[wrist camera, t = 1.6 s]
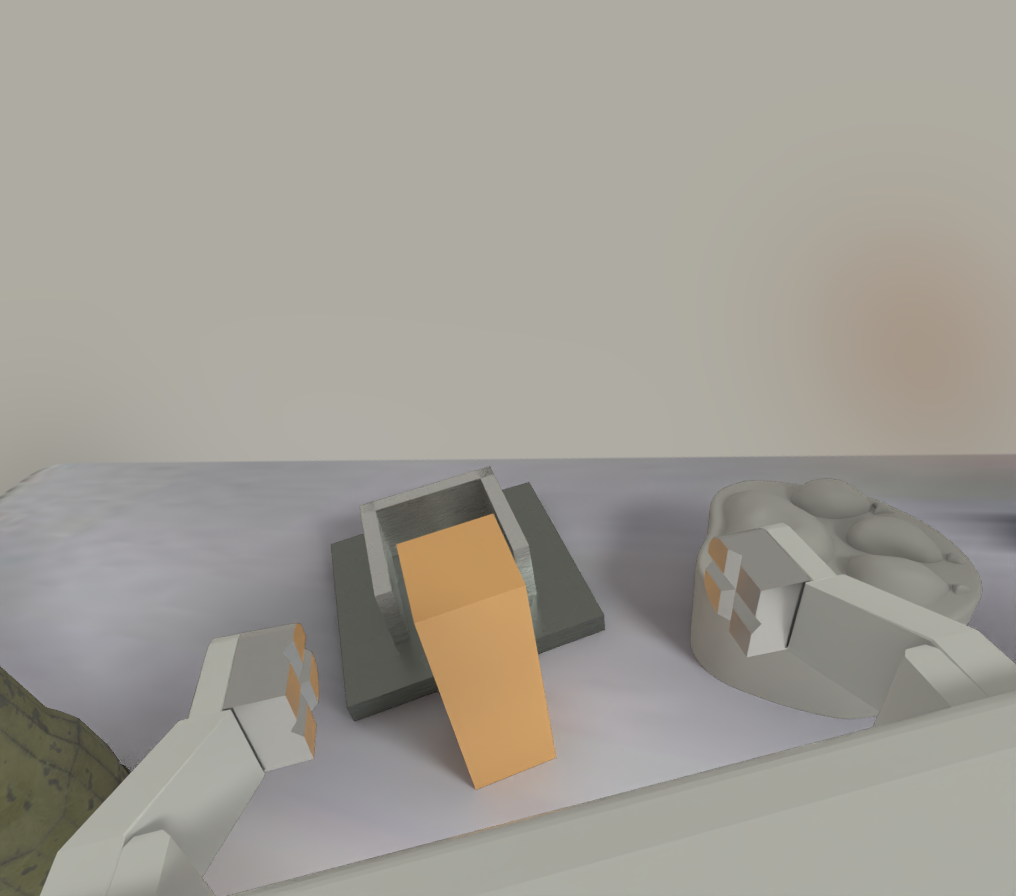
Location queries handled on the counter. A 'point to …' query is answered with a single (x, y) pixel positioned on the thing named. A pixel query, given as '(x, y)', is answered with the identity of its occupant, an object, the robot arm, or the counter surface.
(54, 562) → the counter surface
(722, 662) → the lumpy-topped squat cylinder
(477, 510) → the grey rail base plate
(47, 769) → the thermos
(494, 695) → the tall orange pillar
